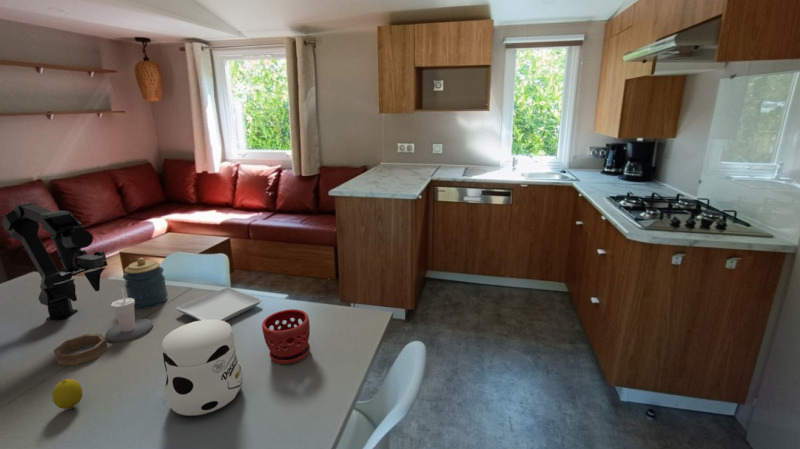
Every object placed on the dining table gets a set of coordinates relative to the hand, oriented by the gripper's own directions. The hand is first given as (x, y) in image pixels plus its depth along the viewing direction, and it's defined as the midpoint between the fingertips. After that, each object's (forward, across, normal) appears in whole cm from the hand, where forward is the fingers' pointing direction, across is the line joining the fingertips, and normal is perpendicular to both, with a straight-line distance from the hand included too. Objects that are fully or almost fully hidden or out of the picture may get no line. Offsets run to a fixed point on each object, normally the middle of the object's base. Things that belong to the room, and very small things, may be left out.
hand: (86, 295), depth 131 cm
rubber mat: (+15, -1, -11) cm, 18 cm away
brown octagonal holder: (+14, -13, -5) cm, 20 cm away
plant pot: (+29, -12, -65) cm, 73 cm away
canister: (+11, +20, -4) cm, 24 cm away
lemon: (+20, -36, -19) cm, 46 cm away
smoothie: (+14, -1, -11) cm, 17 cm away
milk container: (+27, -31, -50) cm, 65 cm away
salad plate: (+19, +14, -34) cm, 41 cm away
